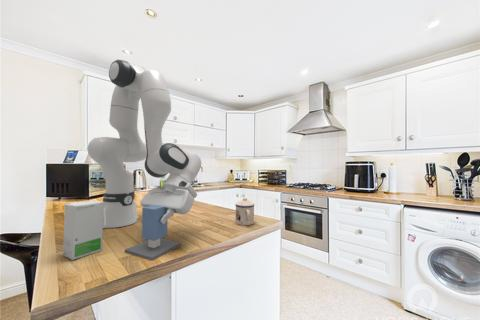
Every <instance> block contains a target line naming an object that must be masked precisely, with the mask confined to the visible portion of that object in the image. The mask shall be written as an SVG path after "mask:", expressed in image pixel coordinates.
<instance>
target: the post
mask: <svg viewBox="0 0 480 320" xmlns="http://www.w3.org/2000/svg"><path fill="white" fill-rule="evenodd" d="M180 246H182V242H180V241H175V240H171V239H168V238H164V237H162V238H160V239H158V240H155V241H152V240H148V239H146V240H145V241H142V242H140V243H137V244H135V245H132V246H130V247H128V248H126V249H124V253H127V254H130V255H134V256H136V257H140V258H143V259H146V260H149V261H154V260H156V259H158V258H159V257H161V256H163V255H165V254H167V253H169V252H170V251H172V250H174V249H176V248H178V247H180Z"/></svg>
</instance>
